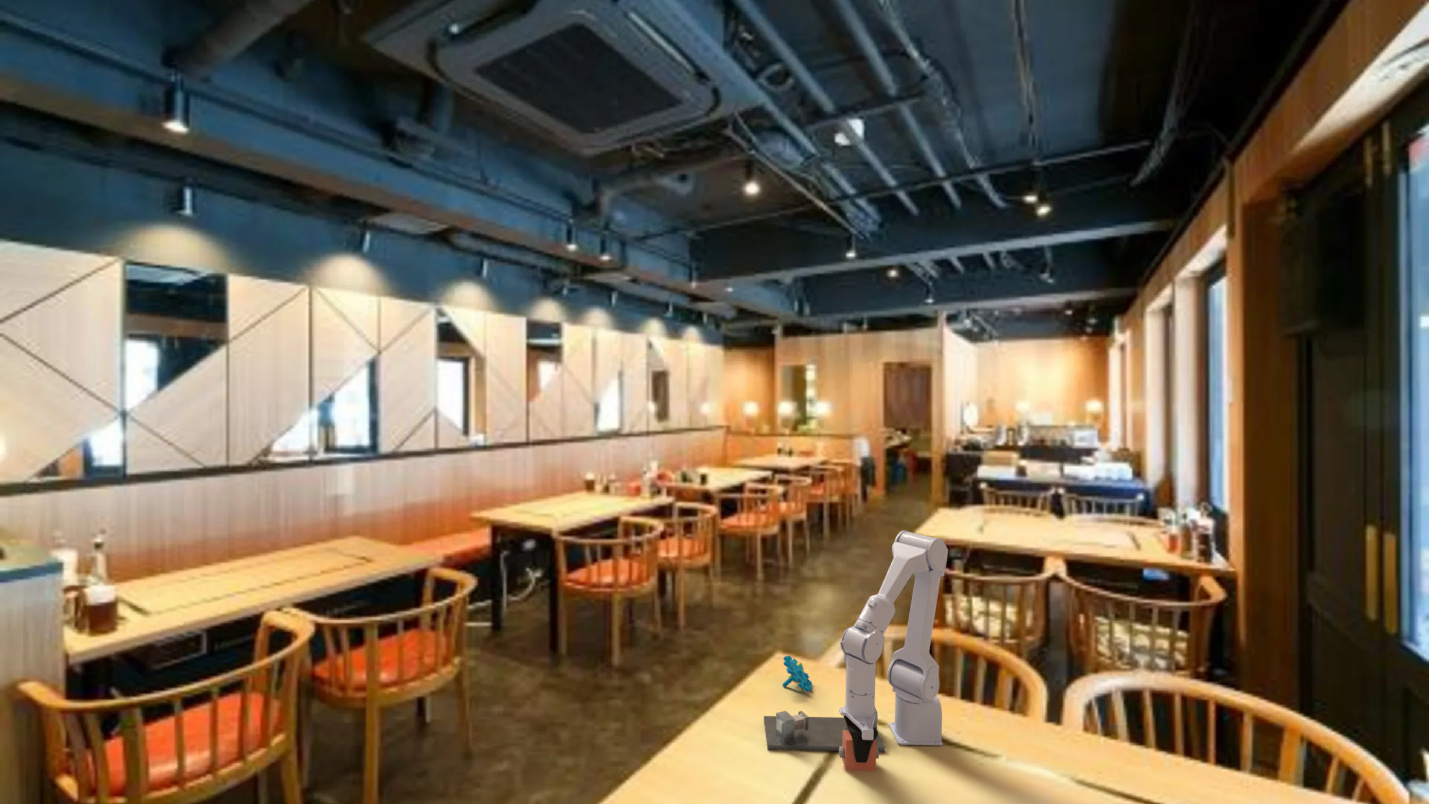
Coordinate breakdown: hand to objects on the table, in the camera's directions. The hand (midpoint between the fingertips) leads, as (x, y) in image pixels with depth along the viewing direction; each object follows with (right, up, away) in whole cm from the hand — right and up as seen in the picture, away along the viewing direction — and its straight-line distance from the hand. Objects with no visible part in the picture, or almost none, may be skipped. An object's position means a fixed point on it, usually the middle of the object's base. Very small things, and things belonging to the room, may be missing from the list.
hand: (858, 755), depth 126 cm
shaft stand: (-6, -2, +10) cm, 12 cm away
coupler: (0, -2, 0) cm, 2 cm away
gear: (-8, -1, +32) cm, 33 cm away
